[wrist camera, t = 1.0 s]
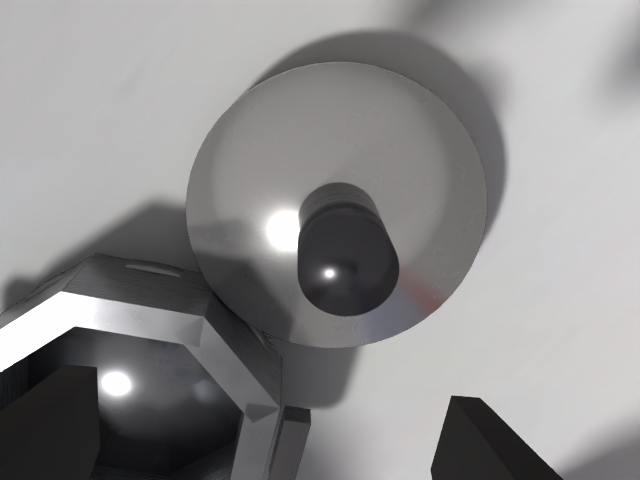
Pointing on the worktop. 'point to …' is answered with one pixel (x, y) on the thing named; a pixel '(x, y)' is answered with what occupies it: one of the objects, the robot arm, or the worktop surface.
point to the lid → (336, 205)
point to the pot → (157, 372)
